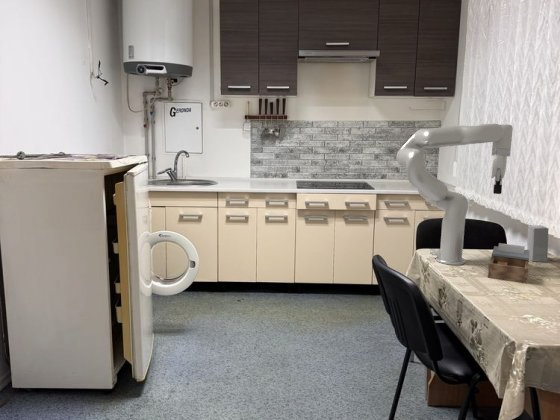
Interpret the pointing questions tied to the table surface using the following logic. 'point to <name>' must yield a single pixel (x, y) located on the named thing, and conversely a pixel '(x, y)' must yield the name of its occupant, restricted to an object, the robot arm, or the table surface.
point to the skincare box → (537, 242)
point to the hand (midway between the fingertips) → (497, 193)
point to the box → (508, 269)
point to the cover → (511, 251)
